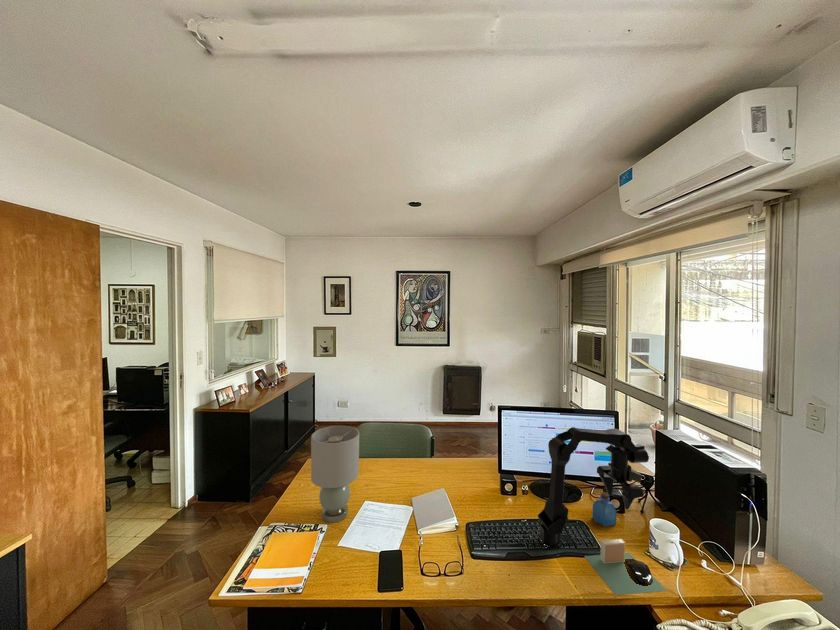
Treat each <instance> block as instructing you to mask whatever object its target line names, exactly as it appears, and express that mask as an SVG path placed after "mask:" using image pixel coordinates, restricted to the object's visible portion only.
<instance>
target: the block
mask: <svg viewBox="0 0 840 630" xmlns="http://www.w3.org/2000/svg"><path fill="white" fill-rule="evenodd" d="M625 553H626V542H625V541H624V540H623V539H622V538H618V539H617V538H616V539H601V540H600V554H599V555H600V560H601V561H602V562H603V563H616V562H625Z"/></svg>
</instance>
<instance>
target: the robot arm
mask: <svg viewBox="0 0 840 630" xmlns="http://www.w3.org/2000/svg"><path fill="white" fill-rule="evenodd" d="M569 440H570V441H569ZM566 441H569V442H568V443H566ZM581 442H593V443H603V444H608V445H609V446H607V447H606V448H605V450H606V451H608V452H609V453H610V462H608V464H607V465H599V466H598V467H596V473H597V474H598V476H599V477H600V479H601V481H602V483H603V485H604V487H605V489H606V493H608V494H609V496H613V495H612V494H613V489H614V488H613V487H614V482H616V483H618V484H620V486H621V493H620V494H621V497H622V501H623V505H624V509H625V510H629V509H630V507H631V505H632V503H633V502H634V500H635V499H636V498H644V496H645V491H644V490H643V489H642V488H641V487H640V486H639V485H637V484H636V483H632V482H633V481H634V482H637V483H638V484H640V483H641V481H642V477H643V474H642V473H639V472H638V471H636V470H634V469H633V468H632V466H631V465H630V464H629V463H632V464H639V463H640V464H641V463H648V462H649V460H650V456H649V453H648V452H647V450H646V448H645V445H643V444H642V443H637V444H634V442H633V441H632V437H631V435H629V434H628V433H626V432H624V431H622V430H620V429H618V428H607V429H606V430H598V429H597V430H596V429H588V428H587V429H586V428H578V427H575V426H572V427H570V428H568V430H566V431H563V432H561V433H558V434H557V435H556V436H554V437H553V438H551V439H549V441H548V446H547V447H548V453H549V456H550V461H551V467H550V468H551V469H550V470H551V471H550V484H549V485H550V487H549V497H548V498H547V500H546V501H545V504H544V508H543V509H542V510H541V511H540V513H538V514H537V518H538V521H540V523H541V524H540V525H539V536H540V538H541V540H542V542H543V544H546V545H548V546H550V547H547V546H545V547H547V548H549V549H561V548H560V547H559V548H558V546H556V545H557V544H561V535H562V533H563V530H564V527H565V526H566V524H567V521H569V516H568V515H569V509H568V507H567V506H566V505H565V504H564V490H565V477H566V475H565V473H566V465H567V464H568V463H569V462H570V460H571V459H570V458H571V455H572V454H573V453H574V452H575V451H576V450H577V448H578V446H579V444H580V443H581ZM629 482H631V483H629Z"/></svg>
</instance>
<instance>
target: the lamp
mask: <svg viewBox="0 0 840 630" xmlns="http://www.w3.org/2000/svg"><path fill="white" fill-rule="evenodd" d="M310 438H311V439H310V441H311V442H310V452H311V453H310V462H311V463H310V471H311V472H310V481H311V482H312V484H313V485H315V486H316V487H319V488H320V491H319V496H318V497H319V503H320V505H321V507H322V508H321V519H322V520H323V522H325V523H328V524H336V523H338V522H342V521H343V520H345V519H346V517H347V516H348V511H349V510H348V508H349V507H348V502H349V500H350V497H351V488H350V485H349V484H351V483H353V482H354V481H356V479H358V478H359V471H360V470H359V466H360V431H359V430H358V429H357V428H356V427H354V426H353V427H352V426H348V425H332V426H325V427H322V428H320V429H319V428H318V429H317V430H316V431H314V432H313V433H312V434H311V437H310Z"/></svg>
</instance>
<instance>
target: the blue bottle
mask: <svg viewBox="0 0 840 630" xmlns="http://www.w3.org/2000/svg"><path fill="white" fill-rule="evenodd" d="M592 519H593V520H594V521H595V522H597V524H600V525H601V526H602V527H604V528H605V527H610V526H614V525H615V526H616V525H617V509H616V507H615V506H614V504H613V502H611V501H610V495H609V494H608V492H607V491H606V492H605V491H601V492H600V495H599V499H596V500H595V501H594V502H593V504H592Z"/></svg>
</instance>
